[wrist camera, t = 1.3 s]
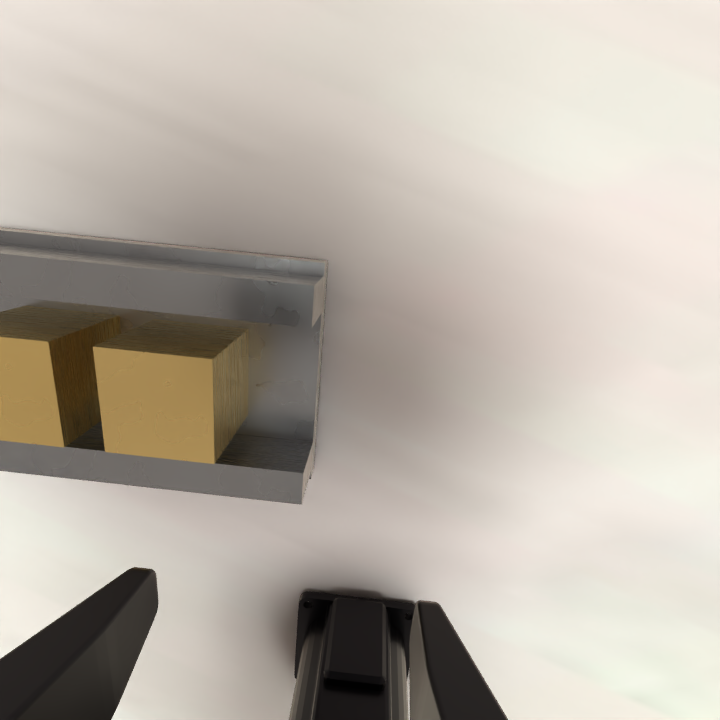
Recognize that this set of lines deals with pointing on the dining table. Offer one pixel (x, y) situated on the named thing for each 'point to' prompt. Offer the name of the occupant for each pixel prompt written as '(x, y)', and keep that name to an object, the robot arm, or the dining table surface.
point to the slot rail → (194, 305)
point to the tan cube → (50, 373)
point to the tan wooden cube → (173, 389)
